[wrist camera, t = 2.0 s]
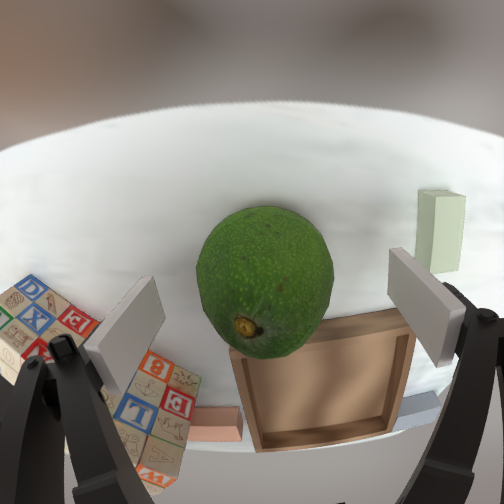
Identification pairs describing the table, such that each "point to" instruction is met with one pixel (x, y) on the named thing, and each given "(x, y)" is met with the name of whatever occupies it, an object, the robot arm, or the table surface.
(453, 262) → the sage brick
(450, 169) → the table surface
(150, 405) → the stack of blocks
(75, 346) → the robot arm
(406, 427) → the slate brick
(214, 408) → the terracotta brick
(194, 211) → the table surface
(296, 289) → the fruit
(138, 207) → the table surface
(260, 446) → the tray
